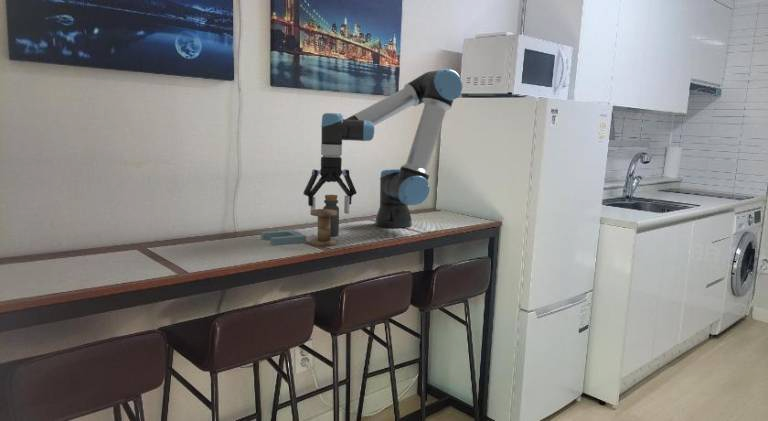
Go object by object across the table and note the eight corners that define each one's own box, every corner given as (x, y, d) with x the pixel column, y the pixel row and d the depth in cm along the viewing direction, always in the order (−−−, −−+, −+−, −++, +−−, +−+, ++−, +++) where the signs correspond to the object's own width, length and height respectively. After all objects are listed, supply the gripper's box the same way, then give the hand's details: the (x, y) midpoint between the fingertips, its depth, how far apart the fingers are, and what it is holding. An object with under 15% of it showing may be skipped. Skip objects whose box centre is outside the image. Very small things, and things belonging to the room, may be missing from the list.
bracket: (293, 236, 199) (293, 229, 199) (306, 242, 188) (306, 236, 188) (261, 238, 193) (261, 232, 193) (273, 246, 182) (272, 238, 182)
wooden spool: (330, 240, 194) (330, 208, 192) (341, 245, 186) (341, 212, 184) (306, 242, 189) (306, 209, 187) (316, 247, 181) (317, 213, 180)
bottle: (319, 235, 201) (320, 195, 198) (328, 233, 206) (328, 194, 203) (333, 237, 198) (333, 196, 196) (341, 235, 203) (342, 195, 201)
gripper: (357, 156, 207) (355, 211, 210) (295, 155, 194) (294, 213, 197) (366, 157, 200) (364, 214, 203) (302, 156, 188) (301, 217, 191)
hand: (329, 214), depth 200 cm, fingers open, 13 cm apart
